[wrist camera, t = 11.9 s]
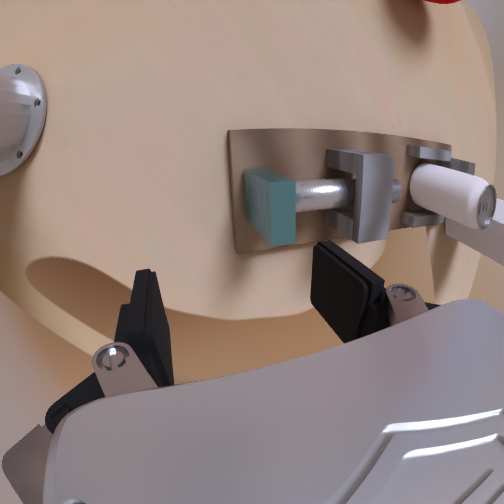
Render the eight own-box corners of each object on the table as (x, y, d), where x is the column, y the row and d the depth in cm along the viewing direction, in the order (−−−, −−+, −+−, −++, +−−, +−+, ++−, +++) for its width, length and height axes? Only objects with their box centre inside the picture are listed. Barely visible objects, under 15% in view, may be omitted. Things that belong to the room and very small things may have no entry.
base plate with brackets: (235, 249, 31) (255, 283, 24) (227, 130, 26) (248, 127, 19) (438, 219, 39) (473, 235, 32) (445, 144, 34) (484, 152, 27)
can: (432, 202, 36) (493, 229, 25) (406, 207, 35) (472, 237, 24) (435, 162, 33) (500, 180, 23) (408, 162, 32) (479, 182, 21)
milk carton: (443, 198, 38) (534, 239, 21) (463, 185, 39) (546, 219, 22) (444, 234, 41) (525, 280, 25) (463, 219, 42) (539, 258, 25)
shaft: (245, 218, 29) (271, 246, 22) (243, 169, 26) (270, 182, 20) (376, 204, 32) (420, 223, 25) (379, 165, 30) (426, 177, 23)
